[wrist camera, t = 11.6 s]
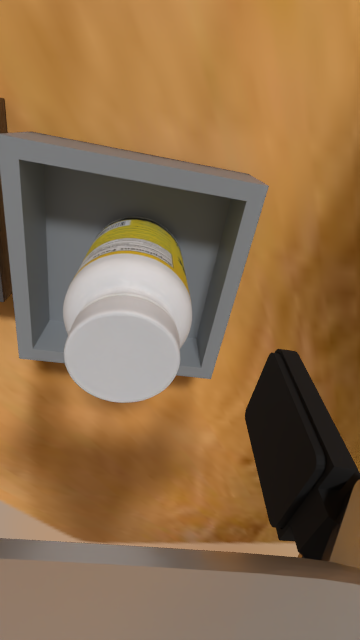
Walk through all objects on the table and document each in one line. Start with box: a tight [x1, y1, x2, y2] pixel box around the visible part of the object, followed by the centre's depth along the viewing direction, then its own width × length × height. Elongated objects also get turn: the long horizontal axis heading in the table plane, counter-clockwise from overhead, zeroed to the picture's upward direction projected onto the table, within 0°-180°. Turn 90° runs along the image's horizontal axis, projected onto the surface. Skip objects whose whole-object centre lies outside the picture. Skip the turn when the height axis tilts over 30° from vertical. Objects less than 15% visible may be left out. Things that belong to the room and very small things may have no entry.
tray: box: [0, 132, 269, 379], centre depth 18 cm, size 12×12×4 cm
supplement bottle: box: [63, 216, 192, 403], centre depth 15 cm, size 5×5×10 cm
